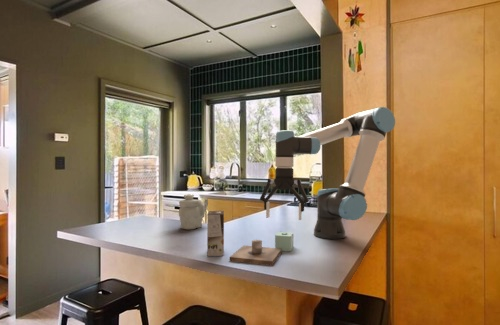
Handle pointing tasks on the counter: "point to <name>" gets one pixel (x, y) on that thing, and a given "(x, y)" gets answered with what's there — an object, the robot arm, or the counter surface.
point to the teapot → (192, 212)
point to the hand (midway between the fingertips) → (283, 218)
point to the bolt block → (256, 254)
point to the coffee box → (215, 233)
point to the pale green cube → (284, 241)
